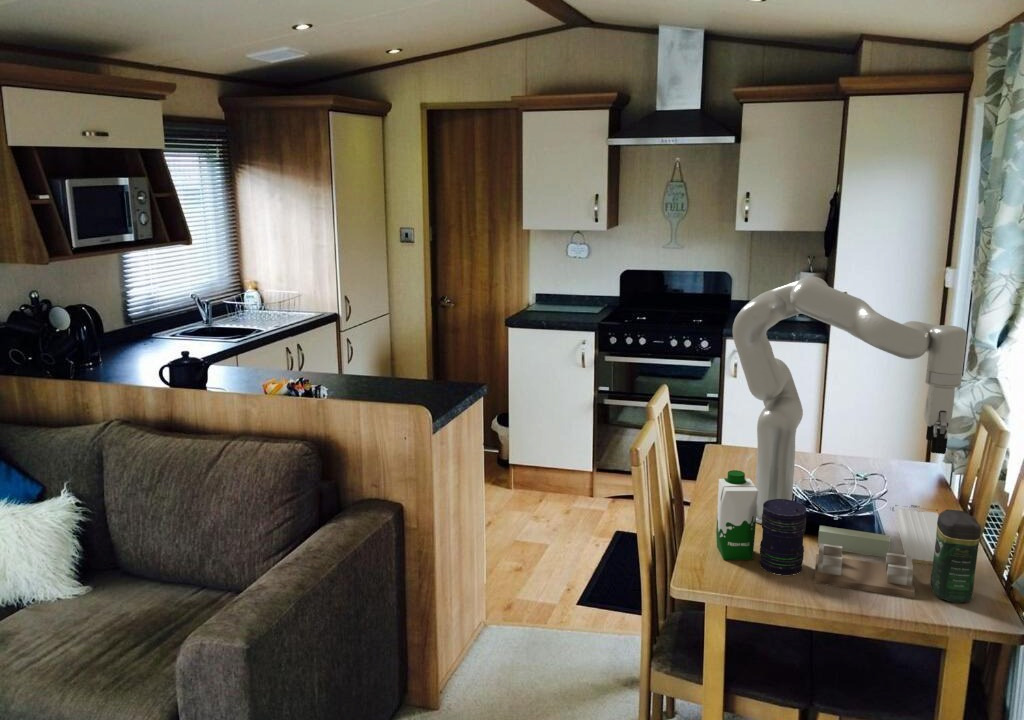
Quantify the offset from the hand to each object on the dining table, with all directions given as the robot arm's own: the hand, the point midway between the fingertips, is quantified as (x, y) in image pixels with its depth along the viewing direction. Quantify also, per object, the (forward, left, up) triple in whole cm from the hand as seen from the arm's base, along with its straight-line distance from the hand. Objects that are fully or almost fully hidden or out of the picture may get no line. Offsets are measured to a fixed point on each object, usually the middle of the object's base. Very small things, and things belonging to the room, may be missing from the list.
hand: (935, 446), depth 206 cm
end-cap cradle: (-15, -24, -26) cm, 38 cm away
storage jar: (-33, -24, -26) cm, 48 cm away
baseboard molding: (-1, +4, -27) cm, 27 cm away
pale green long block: (-17, -9, -26) cm, 32 cm away
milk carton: (-44, -21, -26) cm, 55 cm away
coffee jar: (+3, -25, -26) cm, 36 cm away
